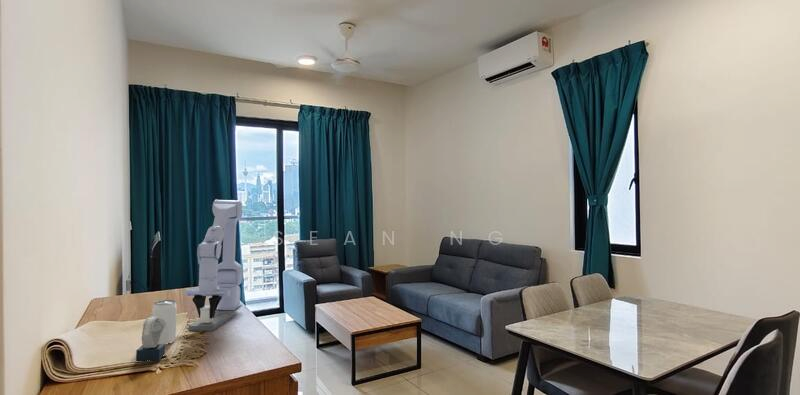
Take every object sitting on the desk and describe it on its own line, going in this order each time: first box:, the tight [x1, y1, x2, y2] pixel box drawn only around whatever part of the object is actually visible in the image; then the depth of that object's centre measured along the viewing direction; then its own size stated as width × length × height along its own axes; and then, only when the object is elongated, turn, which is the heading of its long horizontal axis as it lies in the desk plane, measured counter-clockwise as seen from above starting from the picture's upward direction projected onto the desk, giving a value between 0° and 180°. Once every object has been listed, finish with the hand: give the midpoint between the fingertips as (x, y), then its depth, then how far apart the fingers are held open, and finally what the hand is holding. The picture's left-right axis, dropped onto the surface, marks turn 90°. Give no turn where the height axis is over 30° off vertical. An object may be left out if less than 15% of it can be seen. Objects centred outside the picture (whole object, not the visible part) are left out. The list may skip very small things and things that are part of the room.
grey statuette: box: [135, 316, 166, 362], centre depth 110 cm, size 6×8×11 cm
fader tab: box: [199, 304, 213, 323], centre depth 139 cm, size 4×3×5 cm
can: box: [151, 299, 178, 344], centre depth 123 cm, size 6×6×12 cm
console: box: [188, 311, 235, 332], centre depth 144 cm, size 18×8×2 cm, turn 1°
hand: (206, 317), depth 139 cm, fingers closed on fader tab, 3 cm apart
